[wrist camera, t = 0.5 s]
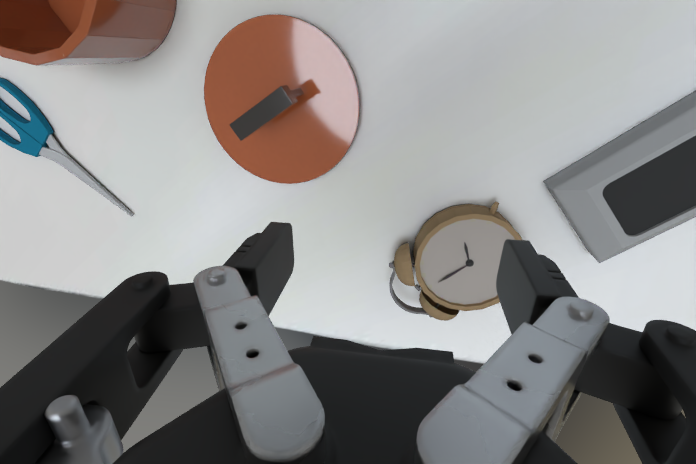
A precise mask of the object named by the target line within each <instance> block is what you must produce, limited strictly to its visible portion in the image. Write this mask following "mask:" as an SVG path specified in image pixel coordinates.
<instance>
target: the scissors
mask: <svg viewBox="0 0 696 464" xmlns="http://www.w3.org/2000/svg"><path fill="white" fill-rule="evenodd" d="M0 86H1V87H3V88H4V89H5V90H6V91H8V92H9V93H10V94H11V95H12V96H14V97H15V98H16V99H17V100H18V101H19V102H20V103H21V104H22V105H23V106H24V107H25V108H26V109H27V111H28V112H29V114H30V117H31V121H27V120H25V119H24V118H22V117H21V116H20V115H18V114H17V113H15V112H14V111H13V110H12V109H10V108H9V107H8V106H7V105H6V104H4V103H3V102H2V101H1V100H0V116H1V117H2V118H3V119H4V120H5V121H6V122H8V123H9V124H10V125H11V126H12V127H13V128H14V129H15V130H16V131H17V132H18V134H19V135H20V139H21V143H20V142H18V141H16V140H14V139H13V138H11V137H10V136H9V135H7V134H6V133H4V132H3V131H2V130H1V129H0V140H1V141H2V142H4V143H6V144H7V145H9V146H11V147H13V148H15V149H17V150H19V151H21V152H23V153H26V154H29V155H32V156H35V157H38V156H43V157H46V158H48V159H51V160H53V161H55V162H56V163H58V164H60V165H61V166H63V167H64V168H65V169H67V170H68V171H69V172H71V173H72V174H74V175H75V176H76V177H78V178H79V179H81V180H82V181H83V182H85V183H86V184H87V185H89V186H90V187H92V188H93V189H94V190H96V191H97V192H99V193H100V194H101V195H103V196H104V197H105V198H107V199H108V200H109V201H111V202H112V203H114V204H115V205H116V206H118V207H119V208H120V209H122V210H123V211H124V212H126V213H127V214H128V215H130V216H133V215H134V214H133V213H132V212H131V211H130V210H129V209H128V208H126V207H125V206H124V205H123V204H122V203H121V202H120V201H119V200H117V199H116V198H115V197H114V196H113V195H112V194H111V193H109V192H108V191H107V190H106V189H105V188H104V187H103V186H102V185H101V184H99V183H98V182H97V181H96V180H95V179H94V178H93V177H92V176H91V175H90V174H88V173H87V172H86V171H85V170H84V169H83V168H82V167H81V166H80V165H79V164H77V163H76V162H75V161H74V160H73V159H72V158H71V157H70V156H69V155H68V154H67V153H66V152H65V151H64V150H63V149H62V148H61V147H60V145H59V144H58V142H57V141H56V140H55V138H54V137H53V135H52V134H53V132H54V131H53V130H52V128H51V126H50V125H49V123H48V122H47V120H46V118H45V117H44V116H43V115H42V113H41V112H40V111H39V109H38V108H37V107H36V106H35V104H34V103H33V102H32V101H31V100H30V99H29V98H28V97H27V96H26V95H25V94H23V93H22V92H21V91H20V90H19V89H18V88H17V87H15V86H14V85H13V84H12V83H10V82H9V81H7V80H6V79H2V78H0ZM47 144H48V146H49V147H50V148H46V146H47Z"/></svg>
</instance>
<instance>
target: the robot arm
mask: <svg viewBox="0 0 696 464" xmlns="http://www.w3.org/2000/svg"><path fill="white" fill-rule="evenodd" d="M293 267H294V250H293V235H292V226H291V224H290V223H279V222H271V223H270V224H269V225H268V226H267V227H266V228H265V230H264V231H263V232H262V233H256V234H254V235H252V236H251V237H249V238H247V239H246V240H245V241H244V242H243V243H242V245H241V246H240V247H239V248H238V249H237V250H236V252H234V254H233V255H232V256H231V257H230V258H229V259H228V260H227V261H226V262H225V264H224V265H223V266H215V267H211V268H208V269H205V270H203V271H201V272H199V273H198V274H197V275H196V276H195V278H194V280H193V281H194V283H186V284H176V285H169V282H168V278H167V275H165V274H164V273H161V272H144V273H140V274H137V275H134V276H132V277H130V278H128V279H126V280H124V281H123V282H122V283H121V284H120V285H118V286H117V287H116V288H115V289H114V290H113V291H112V292H110V293H109V294H108V295H107V296H106V297H105V298H103V299H102V300H101V301H100V302H99V303H98V304H97V305H95V306H94V307H93V308H92V309H91V310H90V311H88V312H87V313H86V314H85V315H84V316H83V317H82V318H80V319H79V320H78V321H77V322H76V323H75V324H73V325H72V326H71V327H70V328H69V329H68V330H66V331H65V332H64V333H63V334H62V335H61V336H60V337H58V338H57V339H56V340H55V341H54V342H53V343H51V344H50V345H49V346H48V347H47V348H46V349H45V350H43V351H42V352H41V353H40V354H39V355H38V356H37V357H35V358H34V359H33V360H32V361H31V362H30V363H28V364H27V365H26V366H25V367H24V368H23V369H21V370H20V371H19V372H18V373H17V374H16V375H15V376H13V377H12V378H11V379H10V380H9V381H8V382H6V383H5V384H4V385H3V386H2V387H1V388H0V464H577V463H576V462H575V461H574V460H573V459H572V458H571V457H570V456H569V455H567V453H565V452H564V451H563V450H562V449H561V448H560V447H559V446H558V445H557V444H556V443H555V440H556V438H557V436H558V434H559V432H560V430H561V428H562V427H563V425H564V423H565V421H566V420H567V418H568V416H569V414H570V413H571V411H572V409H573V407H574V406H575V404H576V402H577V400H578V399H579V397H580V395H581V392H583V393H585V394H588V395H591V396H594V397H597V398H600V399H603V400H605V401H608V402H611V403H613V405H614V407H615V410H616V412H617V414H618V415H619V418H620V420H621V422H622V424H623V425H624V428H625V430H626V432H627V434H628V435H629V438H630V440H631V441H632V444H633V446H634V447H635V450H636V452H637V454H638V456H639V458H640V460H641V461H642V464H696V331H695V330H693V329H691V328H689V327H686V326H684V325H681V324H678V323H675V322H671V321H665V320H653V321H650V322H648V323H647V324H646V326H645V328H644V331H643V332H639V331H635V330H632V329H628V328H624V327H621V326H617V325H614V324H611V323H609V321H610V320H609V316H608V314H607V313H606V312H605V311H604V310H603V309H602V308H600V307H599V306H597V305H596V304H594V303H592V302H589V301H587V300H584V299H580V298H579V297H578V296H577V294H576V293H575V291H574V290H573V288H572V287H571V285H570V284H569V283H568V281H567V280H566V278H565V277H564V275H563V274H562V273H561V271H560V269H559V268H558V266H557V265H556V264H555V263H554V262H553V261H552V260H550V259H549V258H547V257H546V256H544V255H538V254H537V253H536V251H535V249H534V248H533V246H532V245H531V243H530V242H529V241H525V240H511V239H506V240H505V242H504V245H503V250H502V254H501V259H500V264H499V269H498V273H497V279H496V290H497V294H498V297H499V300H500V303H501V306H502V308H503V311H504V314H505V317H506V320H507V322H508V325H509V328H510V331H511V334H512V335H511V336H510V337H509V338H508V339H507V340H506V341H505V342H504V344H503V345H502V346H501V347H500V348H499V349H498V350H497V351H496V352H495V353H494V354H493V355H492V356H491V357H490V358H489V359H488V361H487V362H486V363H485V364H484V365H483V366H482V367H481V368H480V369H479V370H478V371H477V372H474V371H472V370H471V369H469V368H466V367H464V366H461V365H459V364H456V363H454V359H453V352H449V351H440V350H431V349H422V348H409V349H396V350H377V349H374V348H371V347H367V346H364V345H361V344H358V343H355V342H351V341H348V340H343V339H334V338H325V337H316V336H314V337H313V339H312V342H311V346H306V347H300V348H296V349H292V350H289V351H287V350H286V348H285V346H284V344H283V342H282V340H281V338H280V337H279V335H278V333H277V331H276V329H275V327H274V326H273V324H272V322H271V320H270V318H269V314H270V313H271V311H272V309H273V307H274V305H275V303H276V302H277V300H278V298H279V296H280V294H281V292H282V291H283V289H284V287H285V285H286V283H287V281H288V280H289V278H290V276H291V274H292V271H293ZM133 337H135V340H136V342H135V344H134V345H133V346H132V347H131V348H130V349H129V351H128V352H127V348H128V345H129V343H130V341H131V339H132V338H133ZM203 346H207V349H208V353H209V357H210V360H211V364H212V367H213V371H214V375H215V378H216V382H217V385H218V389H219V392H218V393H216V394H214V395H213V396H211V397H210V398H208V399H206V400H205V401H203V402H201V403H200V404H198V405H197V406H195V407H193V408H192V409H190V410H189V411H187V412H186V413H184V414H182V415H181V416H179V417H178V418H176V419H174V420H173V421H171V422H170V423H168V424H166V425H165V426H163V427H162V428H160V429H159V430H157V431H155V432H154V433H152V434H150V435H149V436H147V437H146V438H144V439H142V440H141V441H139V442H138V443H136V444H135V445H134V446H132V447H131V448H129V449H128V450H127V451H126V452H124V453H123V445H122V442H121V440H122V438H123V437H124V435H125V434H126V432H127V431H128V430H129V428H130V427H131V425H132V424H133V422H134V421H135V419H136V418H137V416H138V415H139V414H140V412H141V411H142V409H143V408H144V406H145V405H146V403H147V402H148V400H149V399H150V397H151V396H152V395H153V393H154V392H155V390H156V389H157V387H158V386H159V384H160V383H161V381H162V380H163V378H164V377H165V375H166V374H167V373H168V371H169V370H170V368H171V367H172V365H173V364H174V363H175V361H176V359H177V358H178V357H179V355H180V354H181V352H182V351H183V349H187V348H194V347H203ZM682 409H683V411H684V413H685V417H686V418H685V417H684V415H683V414H682V413H681V411H682Z"/></svg>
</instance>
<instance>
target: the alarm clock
mask: <svg viewBox="0 0 696 464" xmlns="http://www.w3.org/2000/svg"><path fill="white" fill-rule="evenodd" d="M498 205H499V203H498V202H496V201H495V202H494V204H493V205H492V206H491V208H488V207H486V206H480V205H473V204H464V205H458V206H451V207H449V208H447V209H445V210H443V211H441V212H438V213H436V214H435V215H434V216H433V217H432V218H430V219H429V220H428V221H427V222H426V223H425V224H424V225H423V226H422V228H421V230H420V231H419V233H418V235H417V236H416V238H415V243H414V248H413V258H414V263H411V256H410V249H409V243H406V244H403V245H401V246H400V247H399V248H398V249H397V251H396V253H395V257H394V261H393V263H389V267H391V268H393V273H392V275H391V278H390V293H391V295H392V298H393V299H394V301H395V303H396V304H397V305H398V306H400V307H401V308H402V309H404V310H405V311H408V312H410V313H415V314H426V315H429V316H430V317H434V318H436V319H439V320H450V319H453V318H454V317H455V316H456V315H457V314H458V313H459V310H462V311H470V310H479V309H484V308H486V307H489V306H492V305H494V304H497V303H499V302H500V300H499V297H498V294H497V290H496V279H497V273H498V269H499V264H500V259H501V254H502V250H503V245H504V242H505V240H506V239H511V240H522V239H521V236H520V235H519V234H518V233H517V232H516V231H515V230H514V229H513V227H512V225H511V224H510V223H509V222H508V221H507V220H506V219H505V218H504V217H503V216H502V215H501V214H500V213H498V212H496V210H497V208H498ZM394 267H395V269H394ZM412 267H415V271H416V277H417V281H418V282H419V284H420V286H418V285H415V284H414V277H413V270H412ZM395 271H396V274H397V276H398V278H399V280H400V281H401V282H402V283H404V284H405V285H408V286H415V287H416V289H417V290H418V291H419V290H420V287H421V288H422V290H421V292H420V298H419V300H420V303H421V306H422V308H416V307H411V306H409V305H406V304H405V303H403V302H402V301H401V300H400V299H399V298H398V297H397V296H396V294H395V293H394V290H393V288H392V282H393V279H394V276H395Z"/></svg>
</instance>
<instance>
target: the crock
mask: <svg viewBox="0 0 696 464" xmlns="http://www.w3.org/2000/svg"><path fill="white" fill-rule="evenodd" d="M175 9H176V0H0V56H2V57H5V58H9V59H13V60H17V61H21V62H25V63H29V64H33V65H69V64H106V63H123V62H127V61H134V60H138V59H141V58H143V57H145V56H147V55H149V54H151V53H152V52H153V51H154V50H156V49H157V48H158V47H159V45H160V44H161V43H162V42H163V41H164V39H165V37H166V36H167V34H168V32H169V30H170V28H171V25H172V22H173V19H174V14H175Z"/></svg>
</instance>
